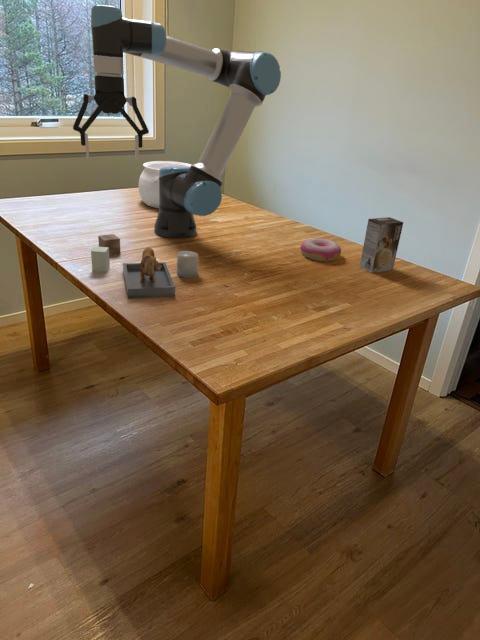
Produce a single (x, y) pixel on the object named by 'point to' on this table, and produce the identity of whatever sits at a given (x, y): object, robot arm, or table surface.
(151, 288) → the slate tray
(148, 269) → the lion figurine
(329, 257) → the donut
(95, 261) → the sage block
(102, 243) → the walnut block
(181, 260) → the pale grey rounded cylinder
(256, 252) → the table surface
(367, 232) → the coffee box
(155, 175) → the pot
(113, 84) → the robot arm
